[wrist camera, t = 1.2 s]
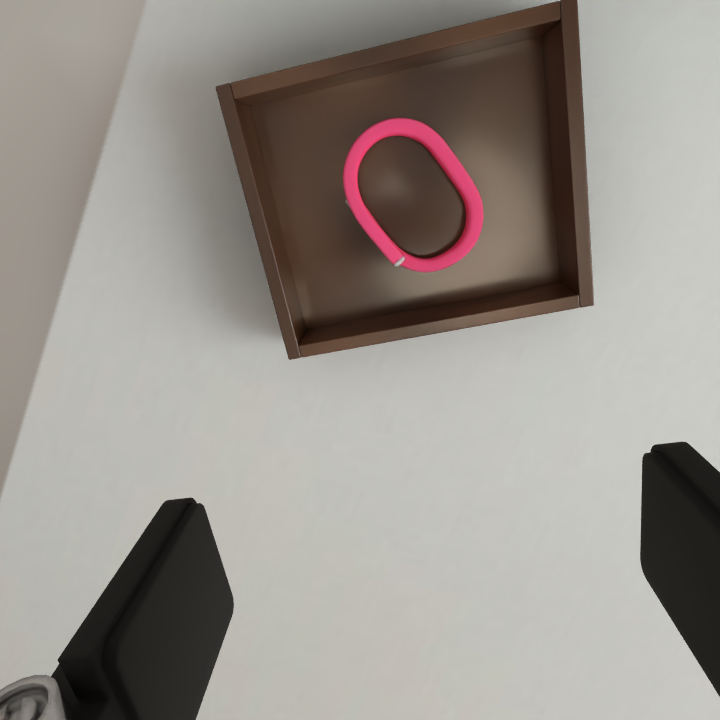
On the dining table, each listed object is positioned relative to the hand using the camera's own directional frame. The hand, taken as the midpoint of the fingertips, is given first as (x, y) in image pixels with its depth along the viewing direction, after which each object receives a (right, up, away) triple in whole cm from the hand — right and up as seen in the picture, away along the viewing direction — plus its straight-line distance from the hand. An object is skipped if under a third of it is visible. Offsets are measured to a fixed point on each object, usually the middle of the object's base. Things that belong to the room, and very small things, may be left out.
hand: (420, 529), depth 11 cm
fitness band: (+2, +12, +17) cm, 21 cm away
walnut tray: (+2, +12, +17) cm, 21 cm away
